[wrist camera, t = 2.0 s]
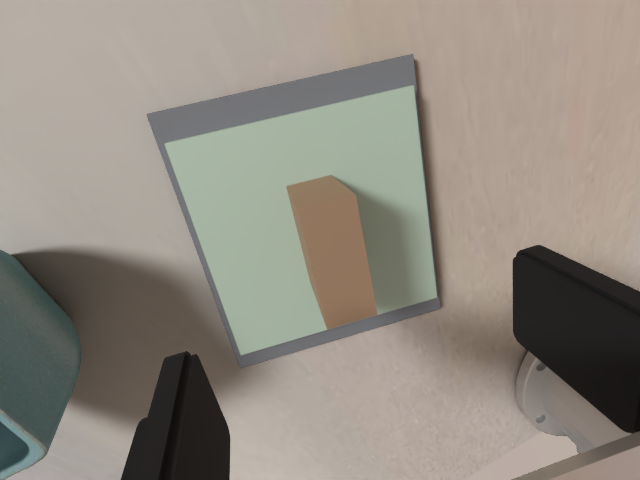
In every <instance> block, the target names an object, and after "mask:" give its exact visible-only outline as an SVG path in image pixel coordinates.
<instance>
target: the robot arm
mask: <svg viewBox="0 0 640 480" xmlns="http://www.w3.org/2000/svg"><path fill="white" fill-rule="evenodd" d="M513 333H514V336H515V338H516V339H517V341H518V342H519V343H520V344H521V345H522V346H523V347H525V348H526V349H527V350H528V352H527V354H526V356H525V358H524V360H523V362H522V364H521V366H520V370H519V373H518V377H517V381H516V398H517V403H518V405H519V408H520V410H521V412H522V413H523V414H524V415H525V417H526V418H527V419H528V420H529V421H530V422H531V423H532V424H533V425H534V426H535V427H536V428H537V429H539V430H541V431H543V432H545V433H547V434H551V435H555V436H568V437H569V438H570V439H571V440H572V441H573V442H574V443H575V444H576V446H577V451H578V453H579V454H577V455H575V456H572V457H570V458H567V459H565V460H562V461H559V462H557V463H554V464H551V465H549V466H546V467H543V468H541V469H538V470H535V471H533V472H530V473H528V474H525V475H523V476H520V477H517V478H515V479H512V480H640V292H639V291H637V290H635V289H633V288H631V287H629V286H626V285H624V284H622V283H620V282H618V281H616V280H614V279H612V278H609V277H607V276H605V275H603V274H601V273H599V272H597V271H594V270H592V269H590V268H588V267H586V266H584V265H582V264H580V263H577V262H575V261H573V260H571V259H569V258H567V257H565V256H563V255H560V254H558V253H556V252H554V251H552V250H550V249H548V248H546V247H543V246H540V245H536V246H533V247H530V248H526V249H523V250H520V251H519V252H518V253H517V255H516V257H515V258H514V259H513ZM229 475H230V434H229V429H228V426H227V423H226V421H225V418H224V416H223V414H222V411H221V409H220V407H219V404H218V402H217V399H216V397H215V395H214V392H213V390H212V388H211V385H210V383H209V381H208V378H207V376H206V373H205V371H204V369H203V366H202V364H201V362H200V359H199V357H198V356H197V355H196V354H195V355H192V356H191V355H190V354H189V352H187V351H186V352H183V353H179V354H176V355H173V356H169V357H166V358H165V359H164V361H163V364H162V368H161V371H160V375H159V379H158V382H157V386H156V389H155V393H154V396H153V400H152V403H151V407H150V410H149V414H148V417H147V418H144V419H142V420H141V421H140V422H139V424H138V426H137V428H136V432H135V435H134V438H133V441H132V445H131V448H130V451H129V454H128V458H127V461H126V464H125V468H124V471H123V474H122V477H121V480H229Z"/></svg>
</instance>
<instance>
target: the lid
mask: <svg viewBox="0 0 640 480" xmlns="http://www.w3.org/2000/svg"><path fill="white" fill-rule="evenodd" d="M165 147H166V150H167V153H168V155H169V158H170V161H171V164H172V166H173V169H174V172H175V175H176V178H177V180H178V183H179V186H180V189H181V191H182V194H183V197H184V200H185V202H186V205H187V208H188V211H189V214H190V216H191V219H192V222H193V225H194V227H195V230H196V233H197V236H198V238H199V241H200V244H201V247H202V250H203V252H204V255H205V258H206V261H207V263H208V266H209V269H210V272H211V274H212V277H213V280H214V283H215V286H216V288H217V291H218V294H219V297H220V299H221V302H222V305H223V308H224V310H225V313H226V316H227V319H228V322H229V324H230V327H231V330H232V333H233V335H234V338H235V341H236V344H237V346H238V349H239V352H240V355H244V354H247V353H251V352H254V351H257V350H261V349H264V348H268V347H271V346H274V345H278V344H281V343H285V342H288V341H291V340H295V339H298V338H302V337H305V336H308V335H312V334H315V333H319V332H322V331H325V330H329V329H332V328H335V327H339V326H342V325H346V324H349V323H352V322H356V321H359V320H363V319H366V318H369V317H373V316H376V315H380V314H383V313H386V312H390V311H393V310H396V309H400V308H403V307H407V306H410V305H413V304H417V303H420V302H424V301H427V300H430V299H434V298H437V291H436V282H435V273H434V264H433V255H432V246H431V237H430V228H429V218H428V209H427V200H426V191H425V182H424V173H423V164H422V155H421V146H420V137H419V128H418V119H417V109H416V100H415V91H414V85H412V86H406V87H402V88H398V89H393V90H389V91H385V92H381V93H376V94H372V95H368V96H364V97H359V98H355V99H351V100H346V101H342V102H338V103H334V104H329V105H325V106H321V107H316V108H312V109H308V110H304V111H299V112H295V113H291V114H287V115H282V116H278V117H274V118H269V119H265V120H261V121H257V122H252V123H248V124H244V125H240V126H235V127H231V128H227V129H222V130H218V131H214V132H210V133H205V134H201V135H197V136H193V137H188V138H184V139H180V140H175V141H171V142H167V143H165Z"/></svg>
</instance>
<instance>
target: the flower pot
mask: <svg viewBox="0 0 640 480" xmlns="http://www.w3.org/2000/svg"><path fill="white" fill-rule="evenodd" d="M80 361H81V347H80V341H79V338H78V335H77V332H76V330H75V328H74V326H73V324H72V321H71V319H70V318H69V316H68V315H67V314H66V313H65V312H64V311H63V310H62V309H61V308H60V306H59V305H58V304H57V303H56V302H55V301H54V300H53V299H52V298H51V297H50V296H49V295H48V294H47V293H46V291H45V290H44V289H43V288H42V287H41V286H40V285H39V284H38V283H37V282H36V280H35V279H34V278H33V277H32V276H31V275H30V274H29V273H28V272H27V270H26V269H25V268H24V267H23V266H22V265H21V264H20V263H19V262H18V260H17V259H15V258H14V257H13V256H12V255H10V254H8V253H6V252H4V251H2V250H0V480H4V479H6V478H8V477H10V476H12V475H14V474H16V473H18V472H20V471H22V470H24V469H26V468H29V467H31V466H32V465H34V464H35V463H37V462H39V461H40V460H41V459H43V458H44V457H45V456H46V454H47V453H48V450H49V448H50V445H51V442H52V440H53V438H54V435H55V433H56V430H57V428H58V425H59V423H60V421H61V418H62V416H63V413H64V411H65V408H66V406H67V403H68V401H69V398H70V396H71V393H72V390H73V388H74V385H75V382H76V379H77V376H78V373H79V369H80Z"/></svg>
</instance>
